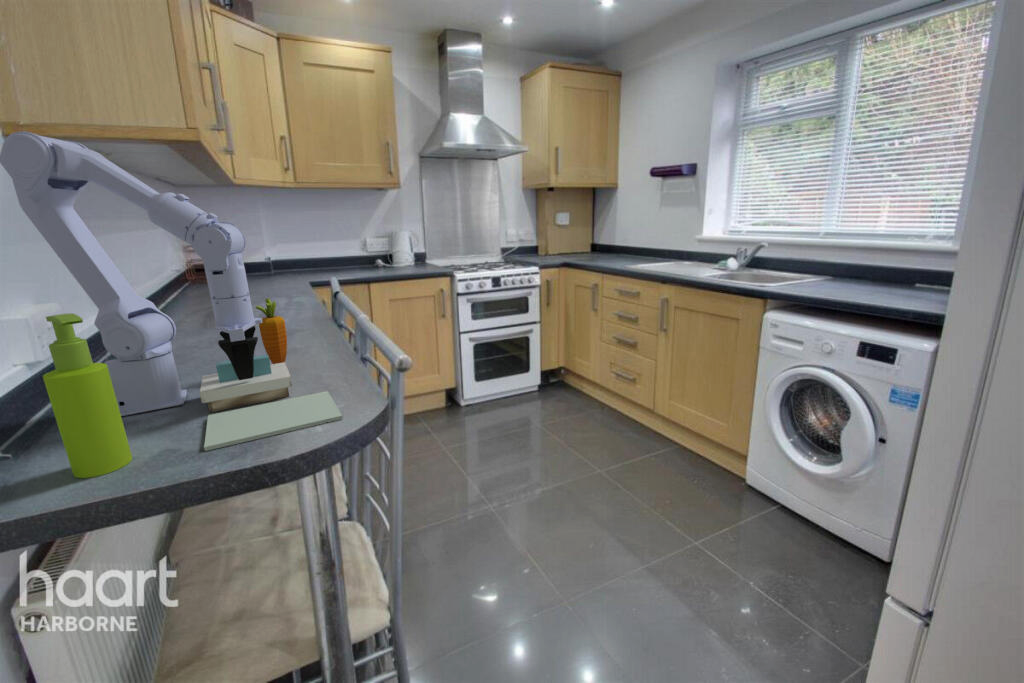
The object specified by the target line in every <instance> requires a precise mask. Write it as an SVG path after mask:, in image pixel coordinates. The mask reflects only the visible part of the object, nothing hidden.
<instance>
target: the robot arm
mask: <svg viewBox="0 0 1024 683" xmlns="http://www.w3.org/2000/svg"><path fill="white" fill-rule="evenodd" d="M0 165H1V166H2V167H3V168H4V170H5V171H6V173H7V174H8V175H9V176H10V178H11V179H12V183H13V186H14V190H15V193H16V197H17V201H18V204H19V206H20V208H21V210H22V211H23V213H25V215H26V217H28V219H29V220H30V222H31V223H32V224H33V225H34V227H35V228H36V230H37V231H38V232H39V233H40V235H41V236H42V237H43V239H44V240H45V241H46V242H47V243H48V245H49V247H51V249H52V251H54V253H55V254H56V255H57V257H58V258H59V259H60V261H61V262H62V263H63V265H64V267H66V268H67V270H68V271H69V273H70V274H71V275H72V277H73V278H74V279H75V280H76V281H77V283H78V284H79V286H80V287H81V288H82V290H83V291H84V292H85V293H86V294H87V295H88V298H90V299H91V301H92V302H93V304H94V306H96V307H97V309H98V311H97V314H96V317H95V320H94V326H95V327H96V328H97V330H98V331H99V333H100V336H101V341H102V344H103V346H104V348H105V349H106V351H107V352H108V353H109V354H110V355H112V356H113V357H116V358H115V359H110V360H106V361H105V362H104V363H105V364H107V367H108V370H109V374H110V378H111V381H112V385H113V389H114V392H115V396H116V400H117V403H118V407H119V411H120V414H121V417H123V416H130V415H135V414H140V413H145V412H151V411H156V410H162V409H166V408H172V407H177V406H181V405H184V403H185V401H186V396H187V394H188V390H187V389H182V388H181V384H180V383H181V382H180V379H179V375H178V370H177V366H176V362H175V358H174V354H173V351H172V350H173V344H172V342H173V341H174V339H175V337H176V334H177V327H176V324H175V322H174V320H173V319H172V318H171V317H170V316H168V314H166V313H164V312H162V311H161V310H160V309H159V308H158V307H157V306H156V305H155V303H154V302H152V301H151V300H149V299H147V298H145V297H143V296H141V295H139V294H137V293H136V292H135V291H134V289H133V287H132V286H131V284H129V282H128V281H127V279H126V278H125V276H123V273H121V271H120V270H119V268H118V267H117V266H116V264H114V262H113V260H112V259H111V258H110V256H109V255H108V254H107V252H106V251H105V249H104V248H103V247H102V245H101V244H100V242H98V240H97V239H96V237H95V236H94V234H93V233H92V232H91V231H90V229H89V228H88V227H87V225H86V224H85V222H84V221H83V219H82V218H81V217H80V215H79V214H78V213H77V212H76V210H75V209H74V205H75V202H76V200H77V199H78V197H79V196H80V195H81V193H83V191H84V189H86V187H87V186H88V185H89V183H90V182H92V183H95V184H96V185H98V186H100V187H102V188H104V189H106V190H108V191H110V192H111V193H113V194H115V195H117V196H119V197H121V198H122V199H125V200H127V201H128V202H130V203H132V204H134V205H136V206H137V207H140V208H142V209H143V210H146V213H147V215H148V218H149V221H150V222H151V223H152V224H154V225H156V226H158V227H159V228H161V229H163V230H165V231H166V232H168V233H170V234H171V235H173V236H175V237H176V238H178V239H180V240H182V241H183V242H185V243H187V244H189V245H191V248H192V250H193V252H195V253H196V255H197V256H198V257H200V259H201V260H202V263H203V267H204V273H205V277H206V281H207V286H208V292H209V296H210V297H209V298H210V301H211V306H212V307H211V308H212V312H213V316H214V321H215V324H214V327H215V329H216V331H220V332H219V335H220V337H222V338H223V339H218V343H217V344H218V346H219V347H220V349H221V350H222V351H223V352H224V353H225V355H226V356H227V358H228V359H229V360H230V361H231V364H232V366H233V368H234V371H235V373H236V375H237V377H238V379H239V380H244V379H250V378H253V373H254V356H255V350H256V346H257V343H258V341H259V338H258V336H255V335H254V334H255V332H256V325H259V323H262V318H263V317H254V310H253V306H252V299H251V295H250V294H251V293H250V290H249V284H248V278H247V273H246V272H247V271H246V267H245V264H244V257H243V251H245V248H246V242H247V241H246V237H245V234H244V233H243V232H242V230H241V229H240V228H239V227H237V225H235V223H232V222H230V221H220V222H219V220H218V215H216V214H214V213H212V212H209V213H208V212H206V211H204V210H202V209H201V208H200V207H198V206H196V205H194V204H193V203H191V202H189V201H190V197H188V196H186V194H183V193H174V192H170V191H169V192H163V193H160V192H158V191H156V190H155V189H154V188H152V187H150V186H149V185H148V184H146V183H144V182H143V181H141V180H140V179H138V178H137V177H135V176H133V174H130V173H129V172H127V171H126V170H124V169H123V168H121V167H119V166H118V165H116V163H113V162H112V161H110V160H109V159H107V158H106V157H104V156H103V155H102V154H101V153H99V152H97V151H95V150H92V149H89V148H88V147H87V146H85V145H84V144H82V143H80V142H77V141H74V140H73V141H72V140H64V139H57V138H54V137H53V138H52V137H49V136H45V135H44V136H43V135H40V134H39V135H38V134H36V133H33V132H31V131H30V132H29V131H23V130H22V131H21V130H20V131H15V132H13V133H10V134H9V135H8V136H7V137H6V138H5V139H4V142H3V143H2V147H1V150H0Z"/></svg>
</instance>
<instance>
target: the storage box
mask: <svg viewBox="0 0 1024 683" xmlns="http://www.w3.org/2000/svg"><path fill="white" fill-rule="evenodd" d="M288 397H290V393H289V387H285V388H280V389H275V390H270V391H264V392H259V393H254V394H249V395H244V396H238V397H233V398H228V399H223V400H217V401H212V402H207V406H208V411H209V413H214V412H219V411H224V410H229V409H233V408H239V407H244V406H249V405H256V404H260V403H264V402H269V401H274V400H279V399H280V400H281V399H284V398H285V399H286V398H288Z"/></svg>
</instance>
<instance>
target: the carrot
mask: <svg viewBox="0 0 1024 683" xmlns="http://www.w3.org/2000/svg"><path fill="white" fill-rule="evenodd" d="M264 301H265V306H266V308H264V307H262V306H259V305H256V306H255V309H257V310H259V311H261V312H262V313H264V316H265V317H261V318H262V323H259V324H258V326H259V331H260V336H261V340H262V345H263V347H264V350H265V352H266V355H267V354H268V356H269V361H270V363H272V364H277V363H283V362H285V363H286V358H287V352H288V351H287V350H288V335H287V328H286V321H285V319H284V318H283V317H282V316H280V315H275V312H276V308H277V307H276V306H277V303H276V301H271V299H270V298H265V300H264Z"/></svg>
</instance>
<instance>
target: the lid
mask: <svg viewBox="0 0 1024 683" xmlns="http://www.w3.org/2000/svg"><path fill="white" fill-rule="evenodd" d="M215 368H216V373H213V374H205V375H202V378H201V383H200V388H199V396H200V400H201V401H200V402H201V404H206V403H207V402H212V401H217V400H223V399H228V398H233V397H238V396H244V395H249V394H254V393H259V392H264V391H270V390H275V389H280V388H285V387H288V388H290V387H293V383H292V377H291V373H290V371H289V369H288V366H287V364H286V361H285V362H283V363H277V364H271V360H270V359H269V356H268V354H267V353H266V354H262V355H257V356H256V355H254V373H253V378H250V379H244V380H239V379H238V377H237V375H236V373H235V371H234V368H233V366H232V364H231V361H230V359H229V360H224V361H218V362H216V364H215ZM207 404H208V403H207Z"/></svg>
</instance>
